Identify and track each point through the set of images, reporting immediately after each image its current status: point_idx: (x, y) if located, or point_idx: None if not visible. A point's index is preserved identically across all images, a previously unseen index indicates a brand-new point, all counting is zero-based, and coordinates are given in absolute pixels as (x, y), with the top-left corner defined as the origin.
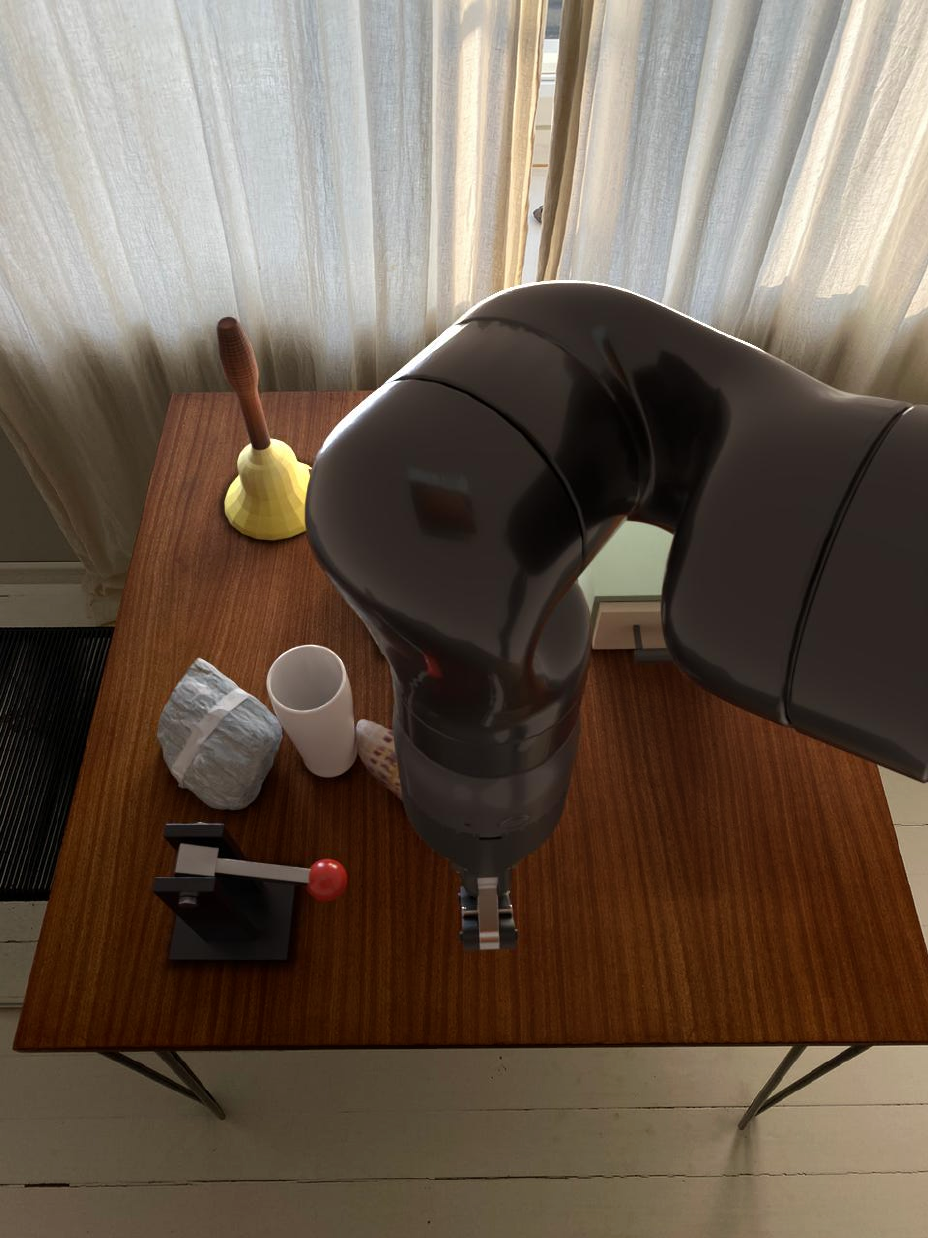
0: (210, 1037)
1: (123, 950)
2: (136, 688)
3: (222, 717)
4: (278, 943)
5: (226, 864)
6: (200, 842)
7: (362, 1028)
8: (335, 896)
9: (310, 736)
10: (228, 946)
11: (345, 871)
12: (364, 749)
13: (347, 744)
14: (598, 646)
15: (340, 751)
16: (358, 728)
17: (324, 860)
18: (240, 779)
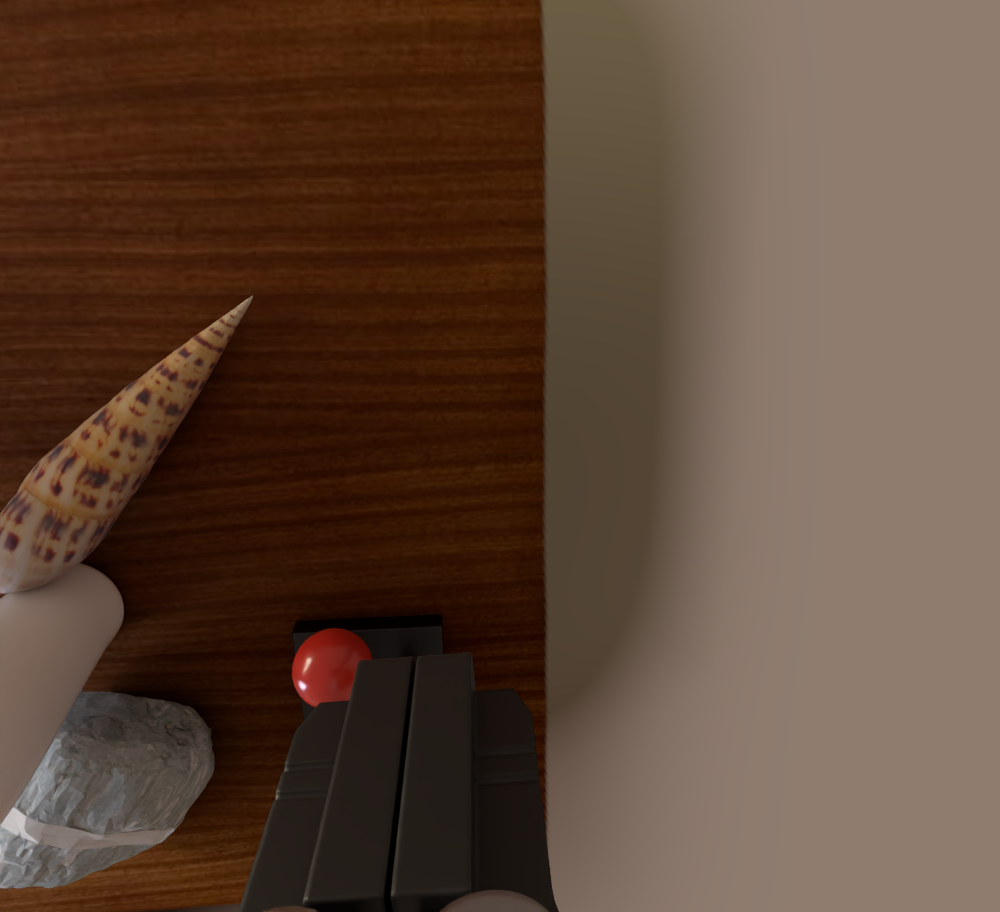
0: (545, 694)
1: None
2: (29, 888)
3: (41, 823)
4: (417, 640)
5: None
6: None
7: (533, 501)
8: (364, 653)
9: (32, 743)
10: None
11: (313, 643)
12: (47, 576)
13: (42, 620)
14: None
15: (61, 628)
16: (3, 592)
17: (297, 689)
18: (156, 768)
